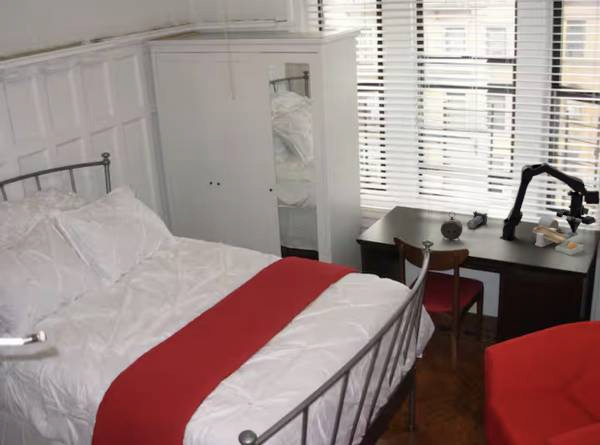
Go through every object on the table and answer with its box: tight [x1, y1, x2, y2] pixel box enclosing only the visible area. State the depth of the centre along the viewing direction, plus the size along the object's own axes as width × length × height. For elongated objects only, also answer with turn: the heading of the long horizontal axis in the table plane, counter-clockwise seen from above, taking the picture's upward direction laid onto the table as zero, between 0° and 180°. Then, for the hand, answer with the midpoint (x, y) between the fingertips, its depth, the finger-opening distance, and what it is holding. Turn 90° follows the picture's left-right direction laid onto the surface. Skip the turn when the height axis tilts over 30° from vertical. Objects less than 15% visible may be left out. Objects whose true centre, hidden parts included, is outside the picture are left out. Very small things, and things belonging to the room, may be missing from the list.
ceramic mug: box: [537, 215, 560, 231], centre depth 374 cm, size 11×8×8 cm
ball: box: [568, 242, 577, 250], centre depth 346 cm, size 4×4×4 cm
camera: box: [466, 211, 488, 230], centre depth 385 cm, size 9×8×12 cm
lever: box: [531, 225, 579, 244], centre depth 359 cm, size 18×15×5 cm
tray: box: [554, 240, 584, 257], centre depth 347 cm, size 10×9×3 cm
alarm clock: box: [440, 211, 464, 242], centre depth 365 cm, size 11×5×16 cm, turn 71°
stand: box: [534, 228, 557, 248], centre depth 357 cm, size 12×4×6 cm, turn 126°
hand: (574, 232), depth 358 cm, fingers closed, pressing on lever
